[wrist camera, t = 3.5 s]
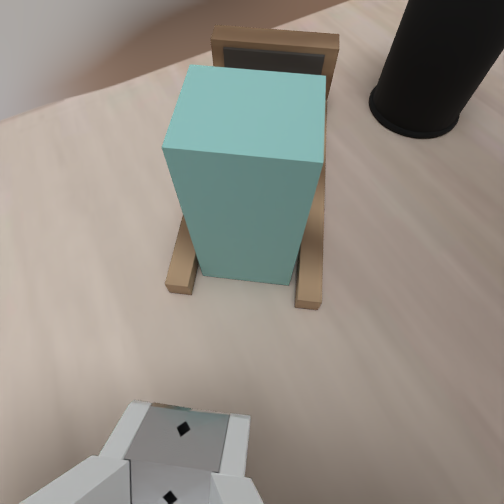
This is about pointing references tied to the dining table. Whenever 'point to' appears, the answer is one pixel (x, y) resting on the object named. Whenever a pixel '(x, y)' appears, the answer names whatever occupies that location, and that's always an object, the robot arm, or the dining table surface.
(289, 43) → the channel
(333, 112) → the dining table surface
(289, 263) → the teal rectangular block
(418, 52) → the aerosol can
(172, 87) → the dining table surface
